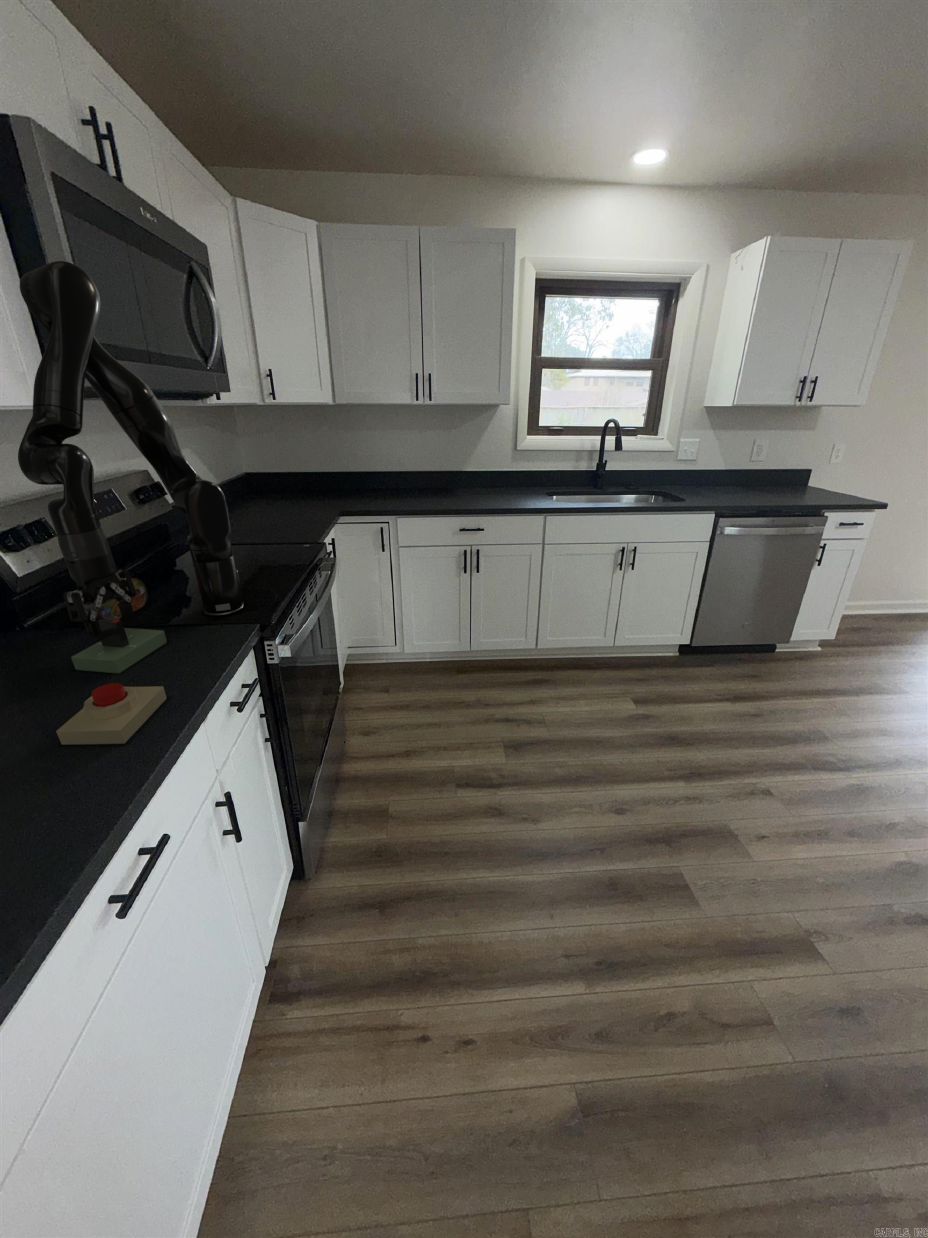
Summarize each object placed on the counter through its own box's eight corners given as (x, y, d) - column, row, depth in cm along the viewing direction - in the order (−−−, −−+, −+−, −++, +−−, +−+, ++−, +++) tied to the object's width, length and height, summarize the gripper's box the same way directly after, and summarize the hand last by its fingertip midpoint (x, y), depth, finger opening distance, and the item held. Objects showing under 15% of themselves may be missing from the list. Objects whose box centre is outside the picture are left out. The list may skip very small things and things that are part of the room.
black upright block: (102, 645, 104) (93, 621, 102) (108, 642, 105) (100, 617, 103) (123, 647, 103) (115, 622, 101) (129, 644, 105) (121, 619, 102)
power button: (106, 693, 85) (102, 683, 85) (131, 692, 86) (128, 682, 85) (88, 707, 81) (85, 697, 81) (116, 707, 82) (112, 696, 81)
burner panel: (127, 639, 113) (123, 627, 112) (167, 642, 112) (163, 629, 111) (75, 670, 101) (70, 656, 100) (119, 673, 99) (114, 659, 98)
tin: (104, 626, 120) (93, 594, 116) (93, 625, 120) (82, 593, 117) (152, 603, 133) (143, 573, 130) (142, 602, 134) (133, 572, 130)
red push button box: (112, 699, 91) (104, 678, 89) (167, 698, 91) (160, 677, 89) (61, 745, 79) (51, 721, 77) (124, 743, 79) (116, 720, 77)
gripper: (98, 541, 103) (122, 613, 109) (36, 563, 90) (68, 642, 97) (131, 542, 102) (153, 614, 108) (73, 564, 89) (102, 644, 96)
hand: (113, 627), depth 103 cm, fingers open, 8 cm apart
